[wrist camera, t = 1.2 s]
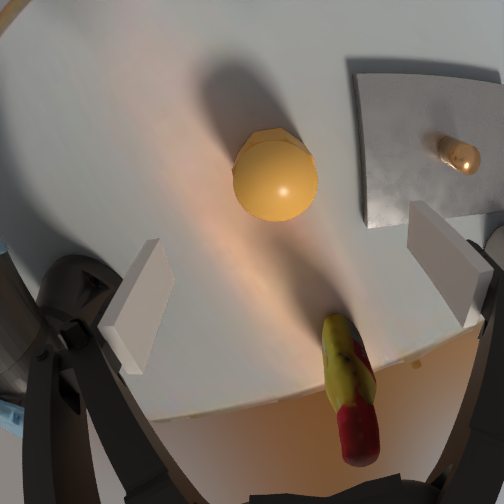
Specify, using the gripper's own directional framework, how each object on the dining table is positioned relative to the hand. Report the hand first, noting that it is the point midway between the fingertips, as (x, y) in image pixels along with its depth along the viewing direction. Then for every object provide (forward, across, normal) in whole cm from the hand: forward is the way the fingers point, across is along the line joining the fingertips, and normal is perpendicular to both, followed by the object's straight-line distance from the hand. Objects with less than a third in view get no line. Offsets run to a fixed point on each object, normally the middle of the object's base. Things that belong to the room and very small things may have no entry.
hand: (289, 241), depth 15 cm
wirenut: (+16, 0, 0) cm, 17 cm away
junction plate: (+16, +19, 0) cm, 25 cm away
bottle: (+17, +6, -25) cm, 31 cm away
